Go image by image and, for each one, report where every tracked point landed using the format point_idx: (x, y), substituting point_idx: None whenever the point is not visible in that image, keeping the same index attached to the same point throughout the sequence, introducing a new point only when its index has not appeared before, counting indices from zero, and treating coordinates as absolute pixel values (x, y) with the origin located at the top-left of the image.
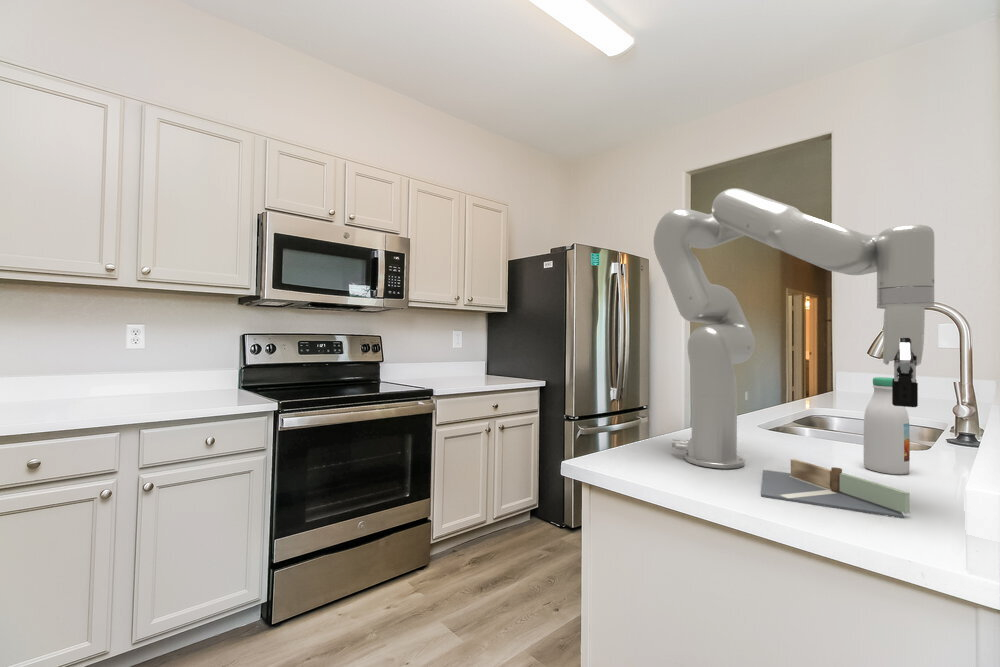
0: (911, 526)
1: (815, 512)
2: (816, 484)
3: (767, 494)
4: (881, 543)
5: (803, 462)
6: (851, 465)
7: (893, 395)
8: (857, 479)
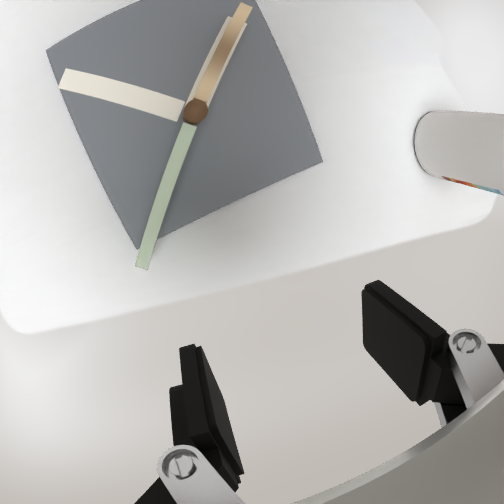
0: (107, 267)
1: (38, 149)
2: None
3: (53, 55)
4: (6, 266)
5: (232, 29)
6: (426, 92)
7: (182, 380)
8: (167, 166)
